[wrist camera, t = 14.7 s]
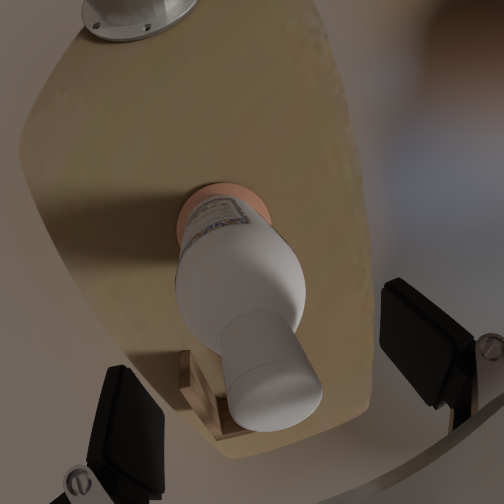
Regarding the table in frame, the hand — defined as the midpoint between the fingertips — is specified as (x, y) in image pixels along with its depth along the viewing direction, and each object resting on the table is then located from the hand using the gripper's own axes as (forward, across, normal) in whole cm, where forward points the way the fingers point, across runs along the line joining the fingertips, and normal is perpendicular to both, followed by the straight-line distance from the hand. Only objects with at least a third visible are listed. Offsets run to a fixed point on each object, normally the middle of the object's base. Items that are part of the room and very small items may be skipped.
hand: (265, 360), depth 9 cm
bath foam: (+18, 0, +1) cm, 18 cm away
